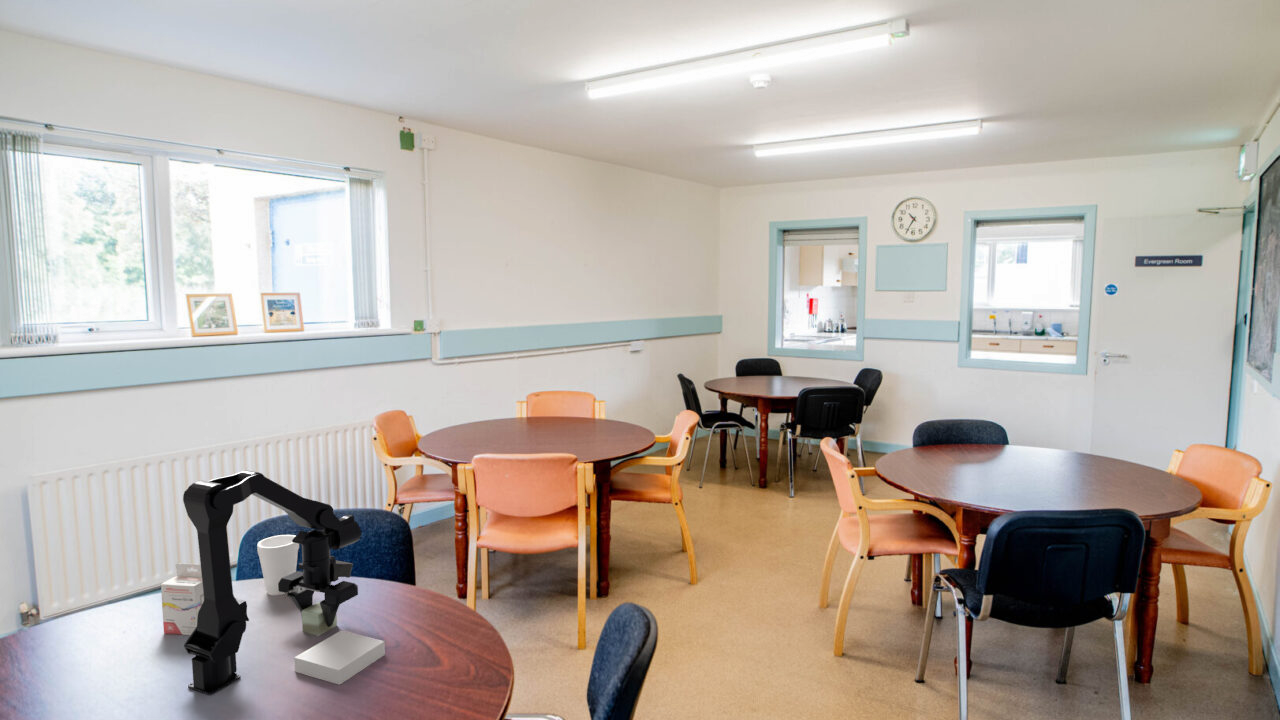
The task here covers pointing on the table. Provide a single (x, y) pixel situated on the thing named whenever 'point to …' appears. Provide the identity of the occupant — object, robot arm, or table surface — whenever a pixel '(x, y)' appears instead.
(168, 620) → the ink cartridge box
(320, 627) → the sage cube
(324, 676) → the white block
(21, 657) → the table surface
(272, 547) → the foam cup
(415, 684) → the table surface
